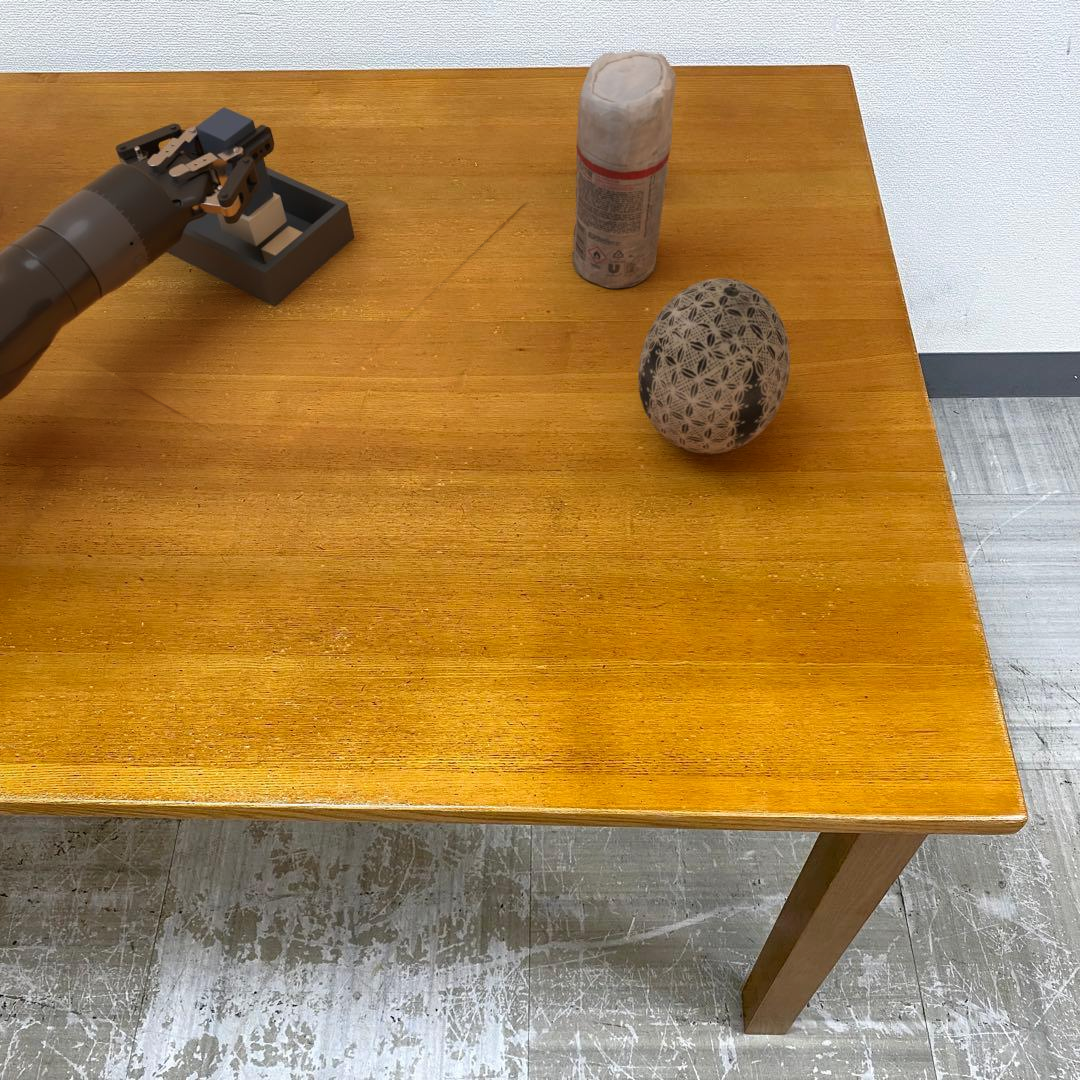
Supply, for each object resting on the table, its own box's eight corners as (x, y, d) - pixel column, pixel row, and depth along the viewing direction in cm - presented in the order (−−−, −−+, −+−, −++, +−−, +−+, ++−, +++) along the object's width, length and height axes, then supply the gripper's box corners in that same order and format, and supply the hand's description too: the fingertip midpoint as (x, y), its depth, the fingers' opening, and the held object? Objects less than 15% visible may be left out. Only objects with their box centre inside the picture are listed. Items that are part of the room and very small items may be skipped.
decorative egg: (611, 400, 88) (619, 264, 75) (732, 364, 90) (760, 225, 78) (669, 502, 82) (688, 371, 69) (797, 459, 84) (839, 326, 71)
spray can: (677, 269, 97) (701, 72, 81) (609, 305, 95) (619, 109, 78) (622, 223, 101) (635, 26, 84) (555, 256, 98) (555, 59, 82)
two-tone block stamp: (222, 230, 97) (188, 127, 88) (253, 205, 99) (223, 102, 90) (256, 247, 96) (225, 144, 87) (287, 221, 98) (260, 118, 89)
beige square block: (264, 261, 98) (260, 248, 96) (292, 238, 100) (288, 225, 98) (295, 277, 96) (292, 263, 95) (323, 253, 98) (320, 240, 97)
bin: (129, 236, 101) (112, 198, 97) (211, 175, 106) (198, 136, 103) (276, 311, 95) (264, 272, 91) (355, 242, 100) (347, 202, 96)
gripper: (156, 226, 78) (303, 114, 86) (32, 164, 83) (182, 63, 91) (185, 299, 85) (320, 189, 92) (68, 238, 89) (206, 138, 97)
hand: (251, 127), depth 91 cm, fingers closed on two-tone block stamp, 3 cm apart
